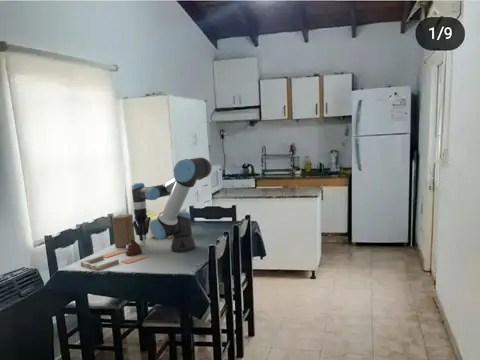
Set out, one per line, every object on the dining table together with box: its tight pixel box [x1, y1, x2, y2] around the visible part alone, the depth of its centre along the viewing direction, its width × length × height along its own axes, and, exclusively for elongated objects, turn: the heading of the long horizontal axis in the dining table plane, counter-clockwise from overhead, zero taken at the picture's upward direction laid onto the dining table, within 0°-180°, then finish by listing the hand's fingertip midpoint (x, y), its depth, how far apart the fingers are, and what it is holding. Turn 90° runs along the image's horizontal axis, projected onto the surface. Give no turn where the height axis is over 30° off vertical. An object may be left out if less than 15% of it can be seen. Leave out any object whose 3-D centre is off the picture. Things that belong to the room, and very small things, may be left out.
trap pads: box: [100, 249, 149, 265], centre depth 247 cm, size 29×14×1 cm, turn 50°
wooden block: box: [112, 213, 136, 248], centre depth 272 cm, size 10×10×20 cm
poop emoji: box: [125, 239, 143, 257], centre depth 252 cm, size 10×8×9 cm
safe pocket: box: [80, 255, 120, 271], centre depth 235 cm, size 17×14×2 cm
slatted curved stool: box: [145, 208, 187, 238], centre depth 291 cm, size 30×16×18 cm, turn 76°
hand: (143, 245), depth 258 cm, fingers closed
